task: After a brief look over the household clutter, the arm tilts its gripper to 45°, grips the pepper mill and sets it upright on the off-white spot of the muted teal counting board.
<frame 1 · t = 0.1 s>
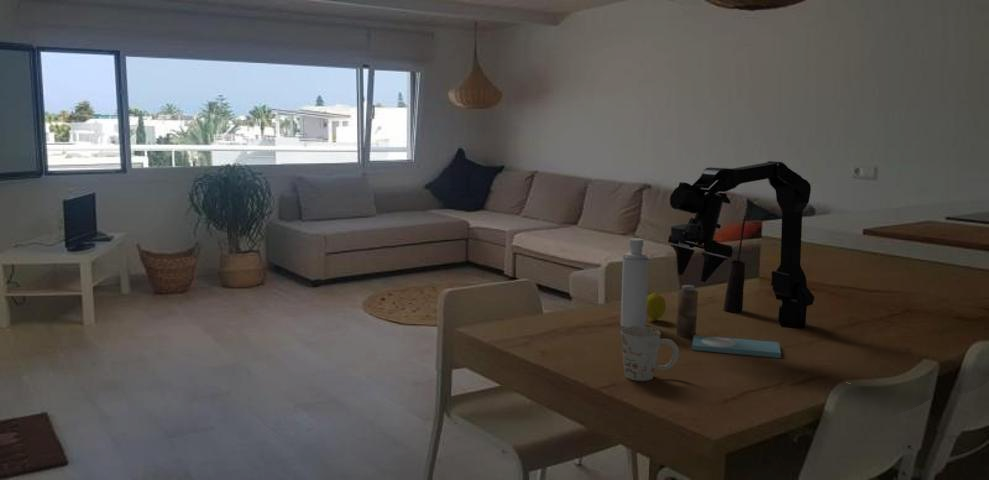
hand: (691, 278, 188), 15 cm above the table, tool pointing down, fingers open, 9 cm apart
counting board: (735, 348, 182), on the table
lemon: (654, 321, 207), on the table
mug: (648, 377, 162), on the table
white bottle: (633, 326, 202), on the table
pepper mill: (686, 334, 193), on the table
butter churn: (730, 311, 218), on the table
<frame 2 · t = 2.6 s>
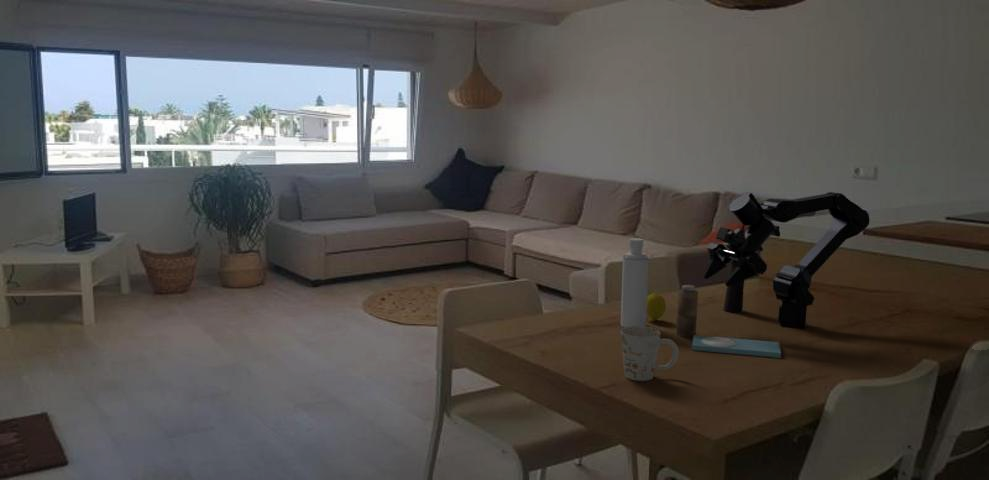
hand: (715, 281, 194), 13 cm above the table, tool tilted 45°, fingers open, 9 cm apart
nothing on the table moved.
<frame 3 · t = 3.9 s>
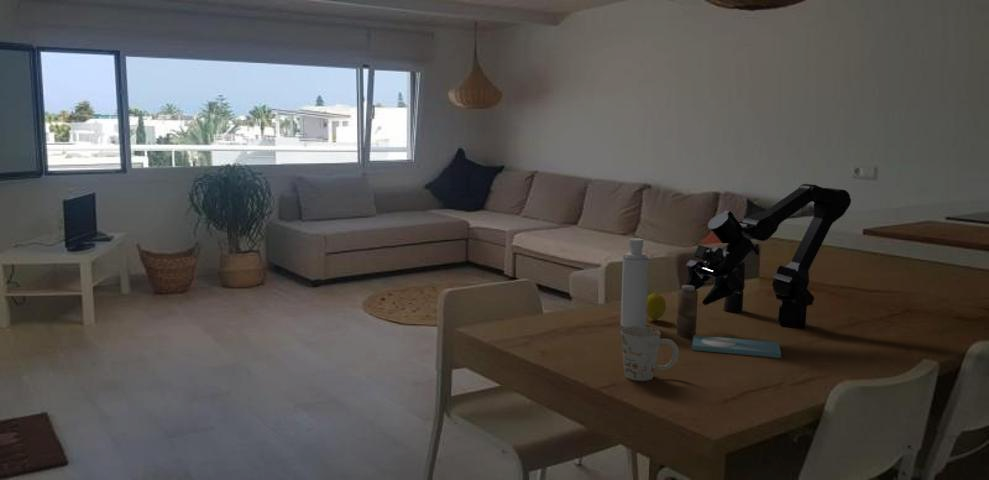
hand: (693, 299, 193), 9 cm above the table, tool tilted 45°, fingers open, 9 cm apart
nothing on the table moved.
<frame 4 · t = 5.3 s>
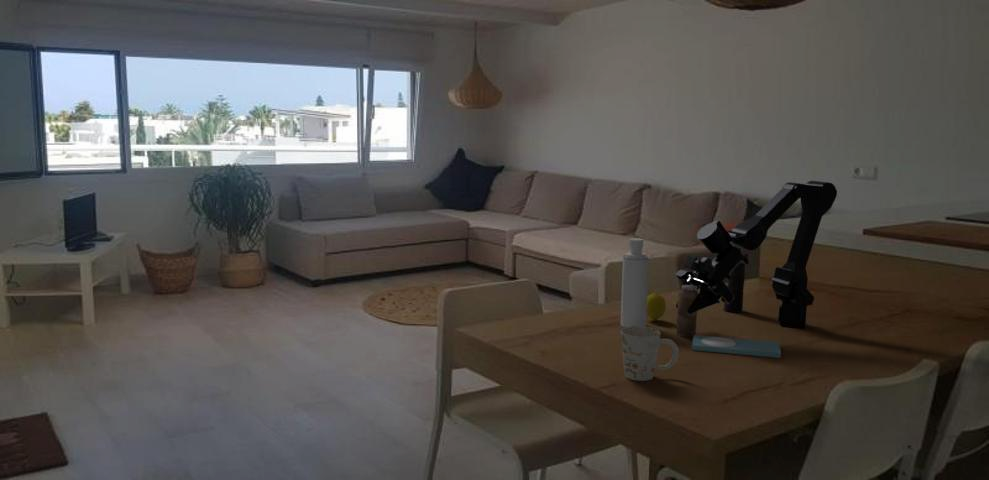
hand: (682, 310, 192), 7 cm above the table, tool tilted 45°, fingers closed on pepper mill, 5 cm apart
pepper mill: (686, 334, 193), on the table, touching gripper
everything else where it was.
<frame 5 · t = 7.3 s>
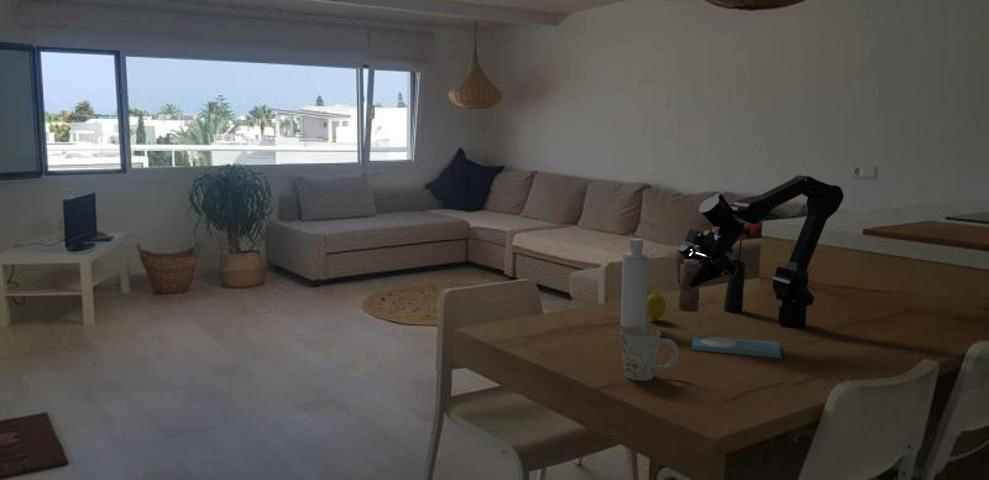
hand: (685, 284, 191), 13 cm above the table, tool tilted 45°, fingers closed on pepper mill, 5 cm apart
pepper mill: (688, 309, 192), point 7 cm above the table, touching gripper
everything else where it was.
when the fingers open (9 cm above the table, at t = 9.5 s): pepper mill drops 1 cm, resting on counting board.
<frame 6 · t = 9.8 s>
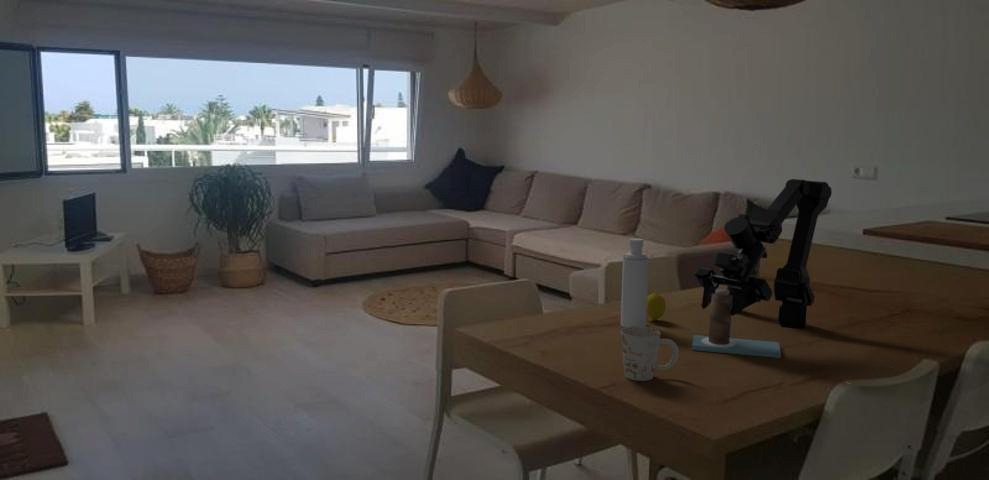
hand: (716, 311, 180), 9 cm above the table, tool tilted 45°, fingers open, 8 cm apart
pepper mill: (718, 341, 183), point 1 cm above the table, touching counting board
everything else where it was.
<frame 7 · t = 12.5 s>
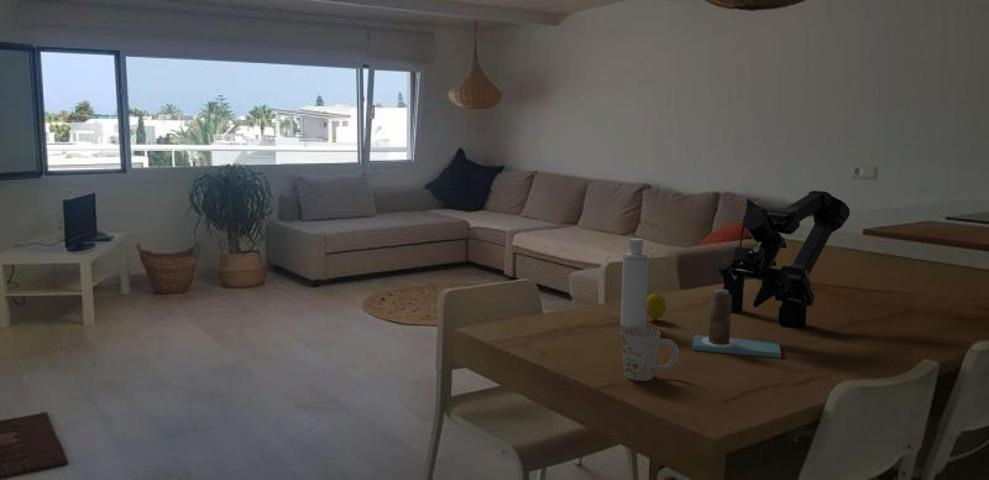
hand: (738, 303, 187), 9 cm above the table, tool tilted 40°, fingers open, 9 cm apart
nothing on the table moved.
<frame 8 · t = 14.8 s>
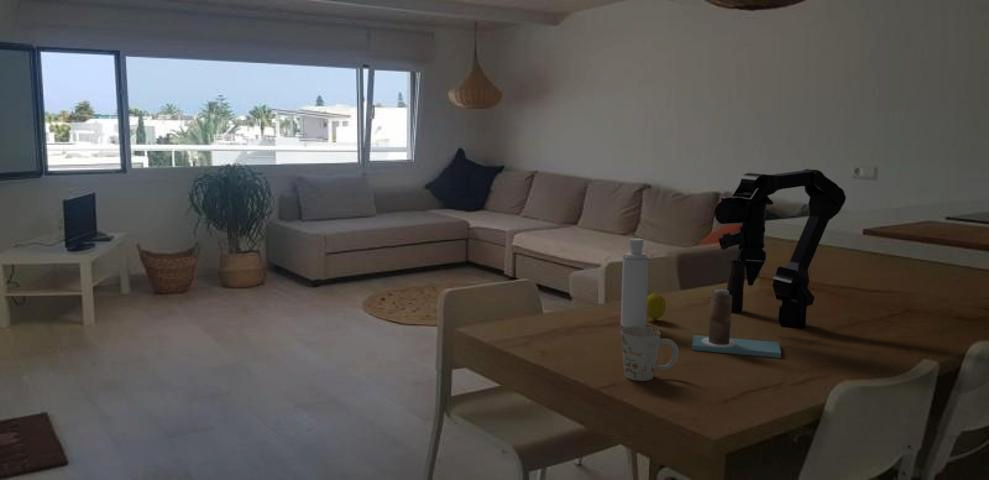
hand: (749, 281, 196), 13 cm above the table, tool pointing down, fingers open, 9 cm apart
nothing on the table moved.
at the end: pepper mill inside the target area on the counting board (0.1 cm from its centre), point 1.4 cm above the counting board's base; pepper mill tilted 0°; the gripper is holding nothing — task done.
